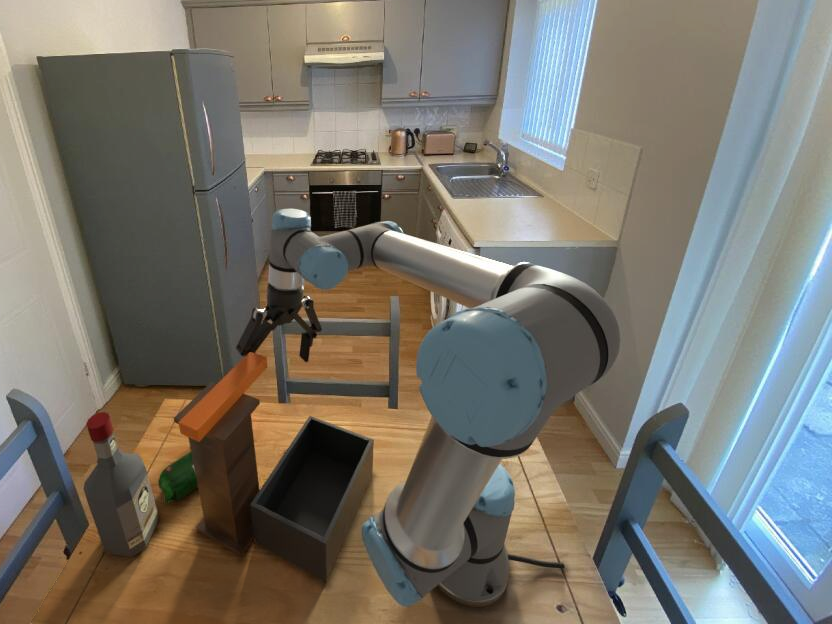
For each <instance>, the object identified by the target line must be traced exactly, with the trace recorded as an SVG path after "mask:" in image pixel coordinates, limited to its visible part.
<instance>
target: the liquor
mask: <svg viewBox="0 0 832 624" xmlns="http://www.w3.org/2000/svg"><path fill="white" fill-rule="evenodd" d="M85 425H86V428H87V431H88V435H89V437H90V441H91V442H92V444H93V447H94V451H95V454H96V458H97V460H96V463H97V464H96V465H95V466H94V468H93V470H92V471H91V473H90V474H89V476H88V477H87V478H86V480H85V481H84V484H83V492H84V496H85V499H86V502H87V505H88V508H89V510H90V513H91V516H92V518H93V523H94V525H95V527H96V531H97V533H98V537H99V539H100V542H101V545H102V547H103V550H104V553H105V554H107V555H113V556H114V555H115V556H122V557H129V558H133V557H135V556H136V555H137V554H139V553H141V552H143V551H144V550H145V549H146V548H147V547H148V544H149V543H150V540H151V539H152V536H153V533H154V532H155V529H156V527H157V525H158V523H159V521H160V517H159V513H158V509H157V506H156V502H155V498H154V494H153V490H152V487H151V481H150V478H149V475H148V471H147V467H146V465H145V462H144V460H143V457H142V456H141V455H140V454H136V453H128V452H122V451H121V449H120V448H119V446H118V443H117V440H116V437H115V434H114V426H113V424H112V420H111V417H110V414H109V413H108V412H106V411H103V412H102V411H101V412H96V413H95V414H93V415H91V416H90V417H89V418H88V419H87V420H86V423H85Z"/></svg>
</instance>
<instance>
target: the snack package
mask: <svg viewBox="0 0 832 624" xmlns="http://www.w3.org/2000/svg"><path fill="white" fill-rule="evenodd" d="M158 488H159V489H160V490H161V492H162V493H163V496H164V503H165V504H167V503H170V502H172V501H179V500H181V499H183V498H184V497H186V496H187V495H188V494H190V493H191V492H192V491H195V489H198V484H197V479H196V474H195V469H194V464H193V459H192V454H191V451H189V452H188V453H186V454H184V455H182V456H181V457H179V458H178V459H176V460H175V461H173V462H172V463H170V464H168V465H167V466H166V467H165V468H163V470H162V471H161V472H160V475H159V478H158Z"/></svg>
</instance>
